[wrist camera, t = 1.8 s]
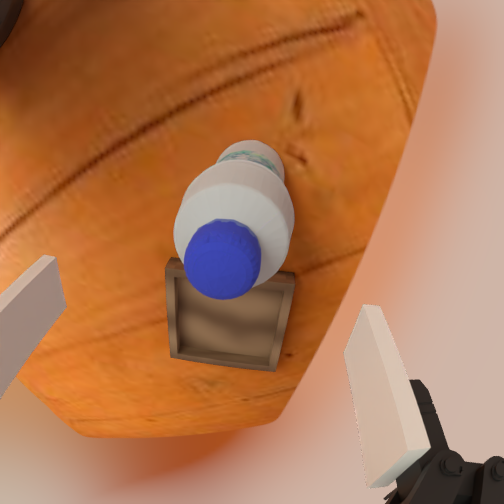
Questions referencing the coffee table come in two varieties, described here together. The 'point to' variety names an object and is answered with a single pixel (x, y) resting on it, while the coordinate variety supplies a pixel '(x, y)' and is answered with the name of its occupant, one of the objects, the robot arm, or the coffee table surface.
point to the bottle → (235, 222)
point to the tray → (228, 321)
